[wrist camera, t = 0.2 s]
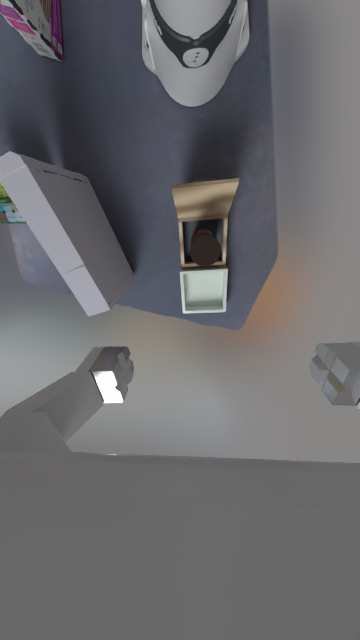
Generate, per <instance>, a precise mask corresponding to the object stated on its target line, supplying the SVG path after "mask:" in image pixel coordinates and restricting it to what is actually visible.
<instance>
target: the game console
mask: <svg viewBox="0 0 360 640" xmlns="http://www.w3.org/2000/svg"><path fill="white" fill-rule="evenodd" d="M0 183H1V185H2V186H3V188H4V189H5V191H6V192H7V194H8V195H9V197H10V198H11V200H12V201H13V203H14V204H15V206H16V207H17V209H18V211H19V212H20V214H21V215H22V217H23V218H24V220H25V221H26V223H27V224H28V226H29V227H30V229H31V230H32V232H33V233H34V235H35V236H36V238H37V239H38V241H39V242H40V244H41V245H42V247H43V248H44V250H45V251H46V253H47V254H48V256H49V257H50V259H51V260H52V262H53V263H54V265H55V266H56V268H57V269H58V271H59V272H60V274H61V275H62V277H63V278H64V280H65V281H66V283H67V285H68V286H69V288H70V289H71V291H72V292H73V294H74V295H75V297H76V298H77V300H78V301H79V303H80V304H81V306H82V307H83V309H84V310H85V312H86V313H87V315H88V316H92V315H95V314H98V313H101V312H104V311H108V310H110V309H112V307H113V306H114V305H115V304H116V303H117V302H118V300H119V299H120V298H121V297H122V296H123V295H124V293H125V292H126V291H127V290H128V289H129V288H130V286H131V285H132V284H133V283H134V278H133V272H132V270H131V268H130V266H129V264H128V261H127V259H126V257H125V255H124V253H123V251H122V249H121V247H120V245H119V243H118V240H117V238H116V236H115V234H114V232H113V230H112V228H111V226H110V224H109V221H108V219H107V217H106V215H105V213H104V211H103V209H102V207H101V205H100V203H99V200H98V198H97V196H96V194H95V192H94V190H93V188H92V186H91V184H90V181H89V179H88V177H86V176H84V175H82V174H80V173H77V172H71V171H69V170H66V169H63V168H60V167H57V166H54V165H51V164H48V163H45V162H42V161H39V160H36V159H34V158H32V157H27V156H25V155H20V154H17V153H14V152H11V151H9V152H8V153H6V154H4V155H3V156H1V157H0Z"/></svg>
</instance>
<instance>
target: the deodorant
mask: <svg viewBox="0 0 360 640" xmlns="http://www.w3.org/2000/svg"><path fill="white" fill-rule="evenodd" d="M220 253H221V247H220V244H219V242H218V240H217V239H216V238H215V236H214V235H213V234H212V233H211V232H210V231H209V230H207V229H199V230H197V231H196V232H195V233H194V234H193V236H192V241H191V250H190V254H191V258H192V260H193V261H194V263H196V264H197V265H199V266H201V267H208V266H211V265H213V264H214V263H215V262H216V261H217V260H218V259H219V256H220Z"/></svg>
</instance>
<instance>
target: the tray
mask: <svg viewBox="0 0 360 640" xmlns="http://www.w3.org/2000/svg"><path fill="white" fill-rule="evenodd" d="M227 277H228V268H227V267H226V265H221V266H208V267H186V268H181V269H180V281H181V294H182V307H183V313H208V312H226V296H227Z"/></svg>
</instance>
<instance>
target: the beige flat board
mask: <svg viewBox="0 0 360 640" xmlns="http://www.w3.org/2000/svg"><path fill="white" fill-rule="evenodd" d="M238 184H239V178H234V179H225V180H216V177H214V178H205V179H195V180H193V183H185V184H176V185H171V190H172V194H173V198H174V203H175V207H176V211H177V216H178V218H188V217H200V216H212V215H224V214H228V213H229V210H230V207H231V204H232V201H233V198H234V195H235V192H236V189H237V187H238Z"/></svg>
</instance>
